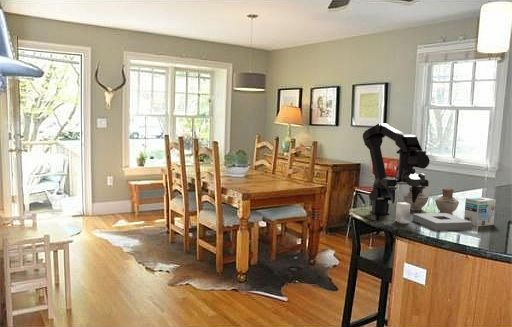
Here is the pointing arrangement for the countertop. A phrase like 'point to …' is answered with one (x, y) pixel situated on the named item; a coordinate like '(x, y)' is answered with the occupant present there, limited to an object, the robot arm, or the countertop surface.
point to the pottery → (443, 203)
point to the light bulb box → (480, 211)
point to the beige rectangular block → (403, 212)
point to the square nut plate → (442, 221)
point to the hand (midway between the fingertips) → (403, 202)
